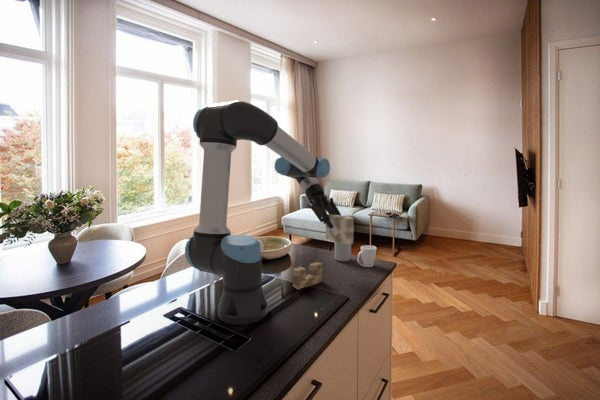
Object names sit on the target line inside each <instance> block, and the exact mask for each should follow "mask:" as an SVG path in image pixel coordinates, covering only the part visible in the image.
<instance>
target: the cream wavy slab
mask: <svg viewBox="0 0 600 400" xmlns="http://www.w3.org/2000/svg"><path fill="white" fill-rule="evenodd" d="M327 214H328V213H327ZM328 216H329V218H330V219H332V220H333V222H334V223H335V225H336V226H337V228H338V230H339V231H340V233H339V234H338V235H337V236H335V235H334V234H333V232H332V230H331V229H330V228H329V227H328V225H327V224H325V240H329V241H333V242H335V241H336V242H340V243H344V244H348V245H349V244H351V245H353V244H354V231H355V230H354V226H355V225H354V224H355V223H354V217H350V216H345V215H341V216H340V215H334V214H328ZM330 219H329V220H330Z"/></svg>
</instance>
